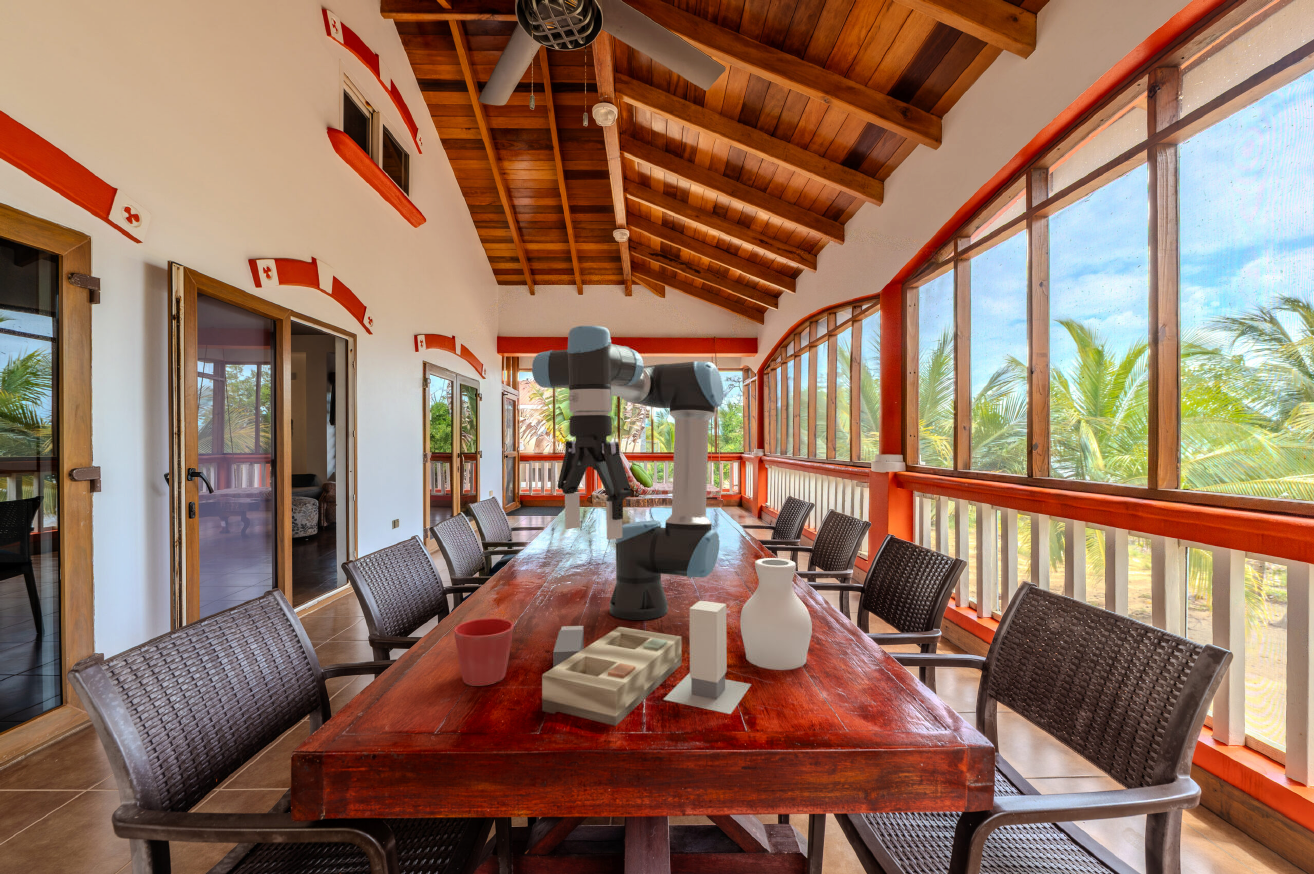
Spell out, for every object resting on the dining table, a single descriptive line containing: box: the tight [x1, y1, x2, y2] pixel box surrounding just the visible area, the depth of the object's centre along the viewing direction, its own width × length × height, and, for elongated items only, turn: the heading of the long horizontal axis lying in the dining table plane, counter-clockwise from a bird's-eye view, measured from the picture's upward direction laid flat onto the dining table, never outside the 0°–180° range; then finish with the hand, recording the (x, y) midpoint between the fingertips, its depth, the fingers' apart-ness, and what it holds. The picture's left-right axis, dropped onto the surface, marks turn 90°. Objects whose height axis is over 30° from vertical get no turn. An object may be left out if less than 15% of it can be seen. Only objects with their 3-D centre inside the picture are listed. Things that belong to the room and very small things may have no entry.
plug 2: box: [689, 600, 728, 700], centre depth 99 cm, size 5×5×15 cm
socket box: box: [541, 626, 682, 727], centre depth 102 cm, size 26×14×6 cm, turn 154°
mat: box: [663, 672, 752, 715], centre depth 99 cm, size 12×12×1 cm
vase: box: [740, 557, 813, 671], centre depth 114 cm, size 14×14×20 cm
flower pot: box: [453, 618, 514, 687], centre depth 106 cm, size 11×11×10 cm
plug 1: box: [552, 625, 585, 668], centre depth 114 cm, size 15×5×5 cm, turn 4°
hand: (592, 533), depth 101 cm, fingers open, 13 cm apart
